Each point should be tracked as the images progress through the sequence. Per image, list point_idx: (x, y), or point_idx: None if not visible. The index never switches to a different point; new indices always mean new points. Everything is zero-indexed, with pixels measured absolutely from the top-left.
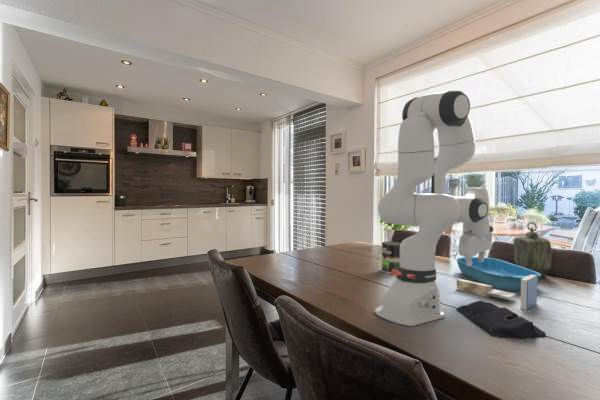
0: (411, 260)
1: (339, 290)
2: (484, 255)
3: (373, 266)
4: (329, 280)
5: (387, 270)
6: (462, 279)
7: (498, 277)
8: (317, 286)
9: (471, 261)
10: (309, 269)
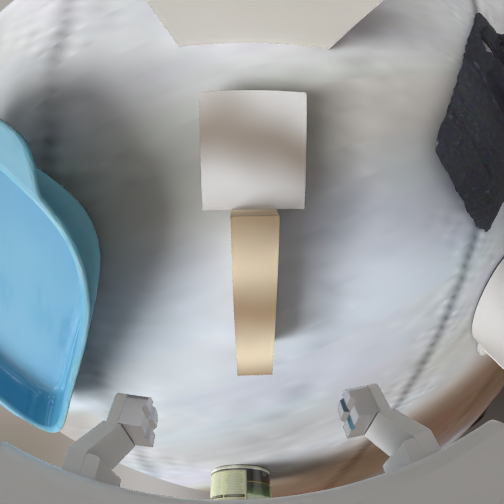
0: None
1: (449, 419)
2: (90, 433)
3: None
4: None
5: (269, 478)
6: (239, 365)
7: (82, 245)
8: (440, 437)
9: (388, 414)
10: None
